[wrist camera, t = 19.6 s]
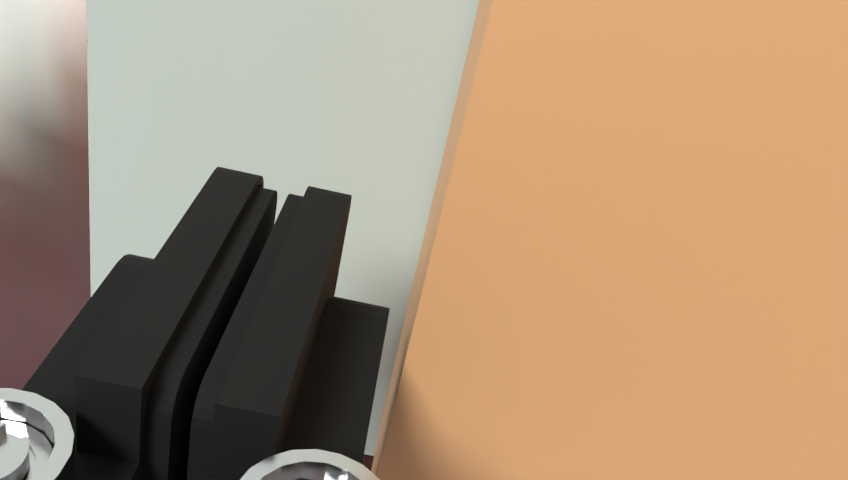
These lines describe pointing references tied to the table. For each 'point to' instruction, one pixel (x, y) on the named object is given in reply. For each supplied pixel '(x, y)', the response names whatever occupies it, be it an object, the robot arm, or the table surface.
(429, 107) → the vise bed
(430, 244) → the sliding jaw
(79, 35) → the table surface
